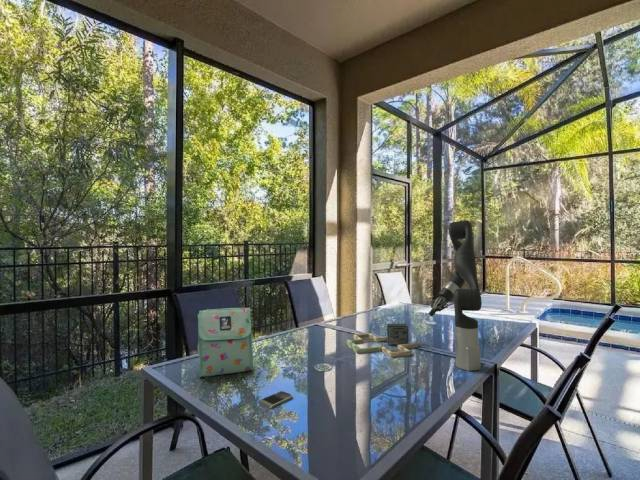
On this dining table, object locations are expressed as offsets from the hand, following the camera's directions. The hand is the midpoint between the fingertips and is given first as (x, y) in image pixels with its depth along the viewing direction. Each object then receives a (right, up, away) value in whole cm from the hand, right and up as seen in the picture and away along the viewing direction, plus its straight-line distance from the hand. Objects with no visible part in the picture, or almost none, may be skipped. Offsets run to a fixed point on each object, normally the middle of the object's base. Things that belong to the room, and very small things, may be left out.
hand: (430, 315), depth 188 cm
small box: (-19, -14, -5) cm, 24 cm away
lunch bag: (-101, -15, -39) cm, 109 cm away
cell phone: (-75, -15, -70) cm, 104 cm away
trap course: (-29, -14, -8) cm, 33 cm away
